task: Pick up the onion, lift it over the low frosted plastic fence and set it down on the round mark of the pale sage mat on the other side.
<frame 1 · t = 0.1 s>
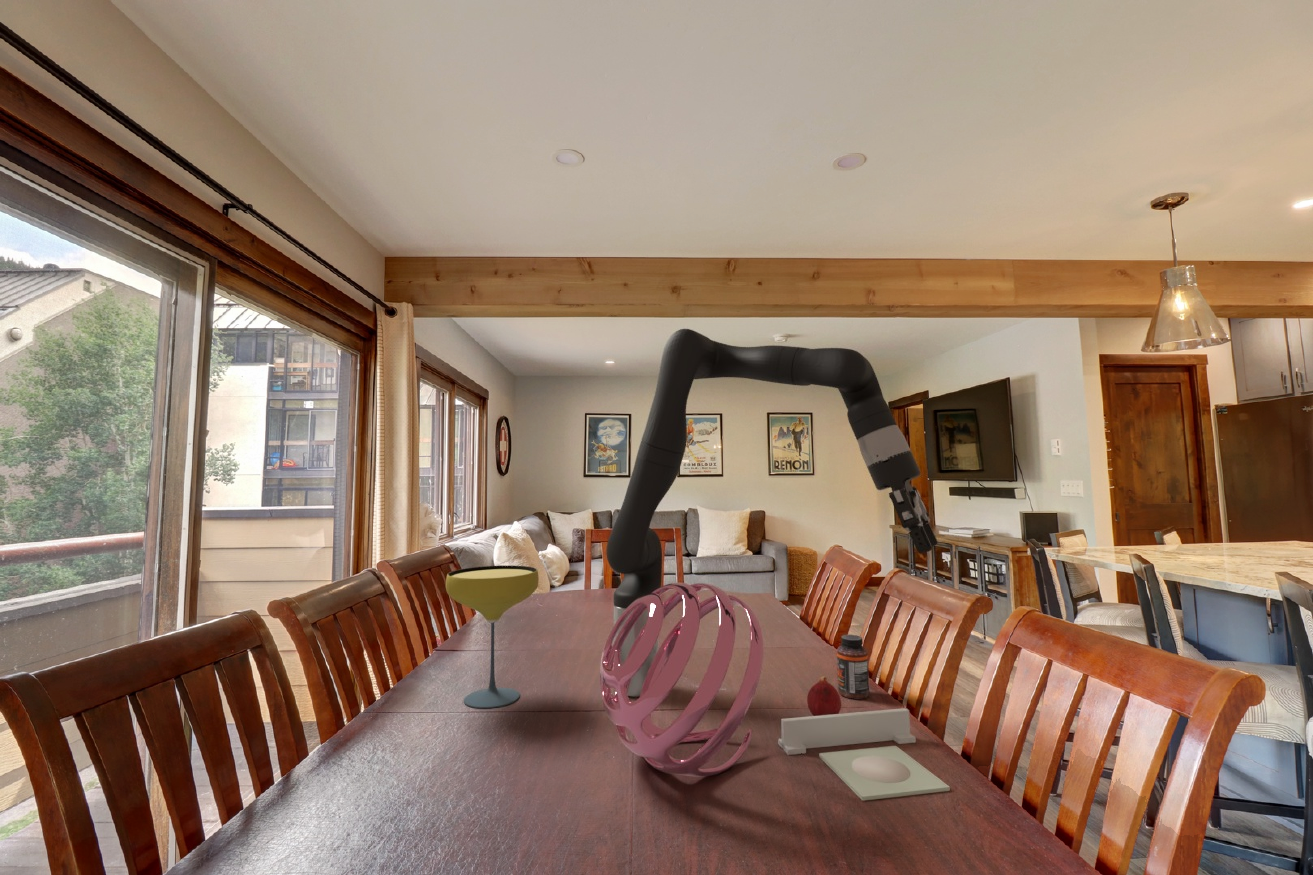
hand: (929, 548, 97), 31 cm above the table, tool tilted 20°, fingers open, 8 cm apart
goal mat: (880, 772, 87), on the table
supplement bottle: (853, 695, 118), on the table
cocktail glass: (492, 699, 119), on the table
spiral basket: (678, 760, 92), on the table
onion: (824, 724, 104), on the table
low fence: (847, 742, 97), on the table
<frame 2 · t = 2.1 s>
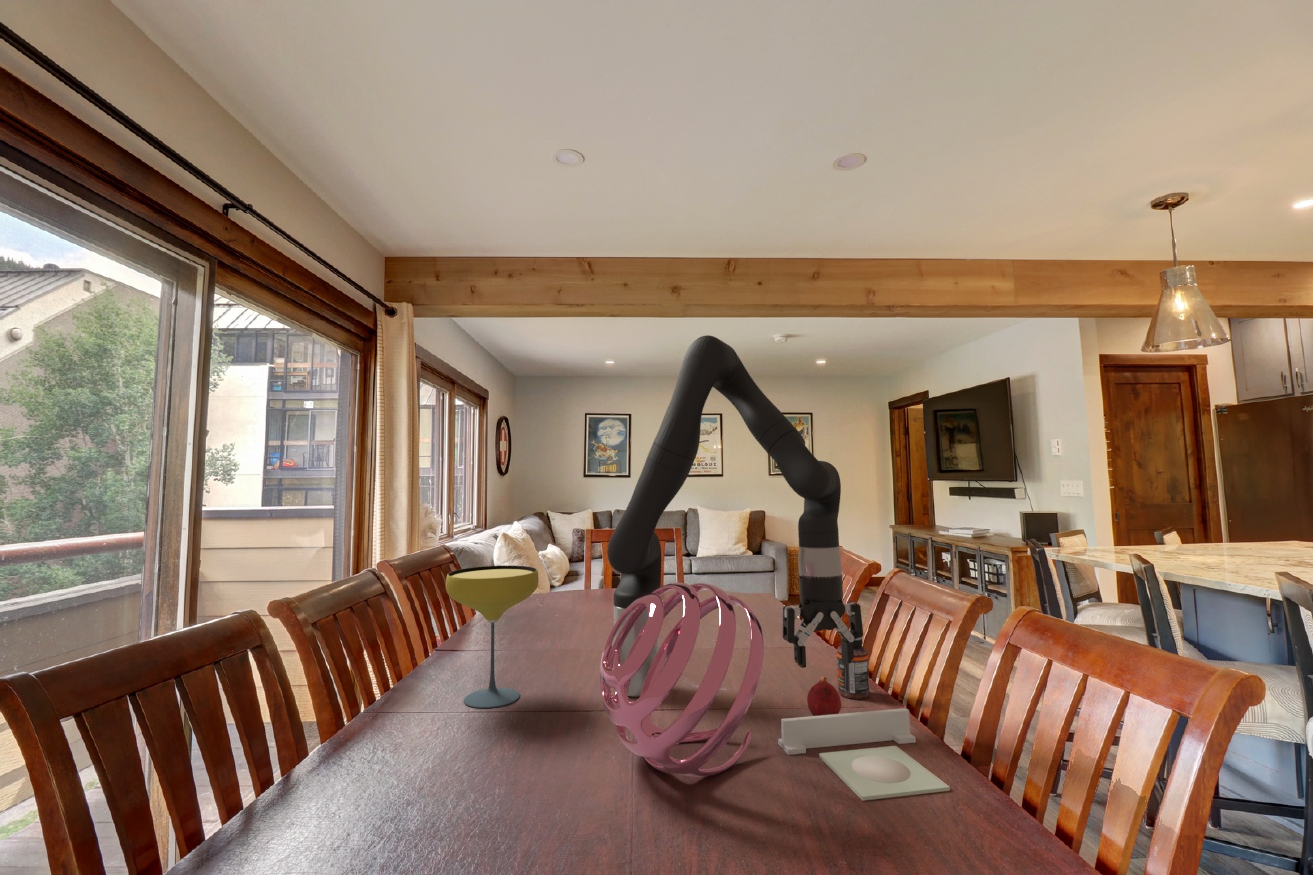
hand: (824, 664, 105), 10 cm above the table, tool pointing down, fingers open, 8 cm apart
nothing on the table moved.
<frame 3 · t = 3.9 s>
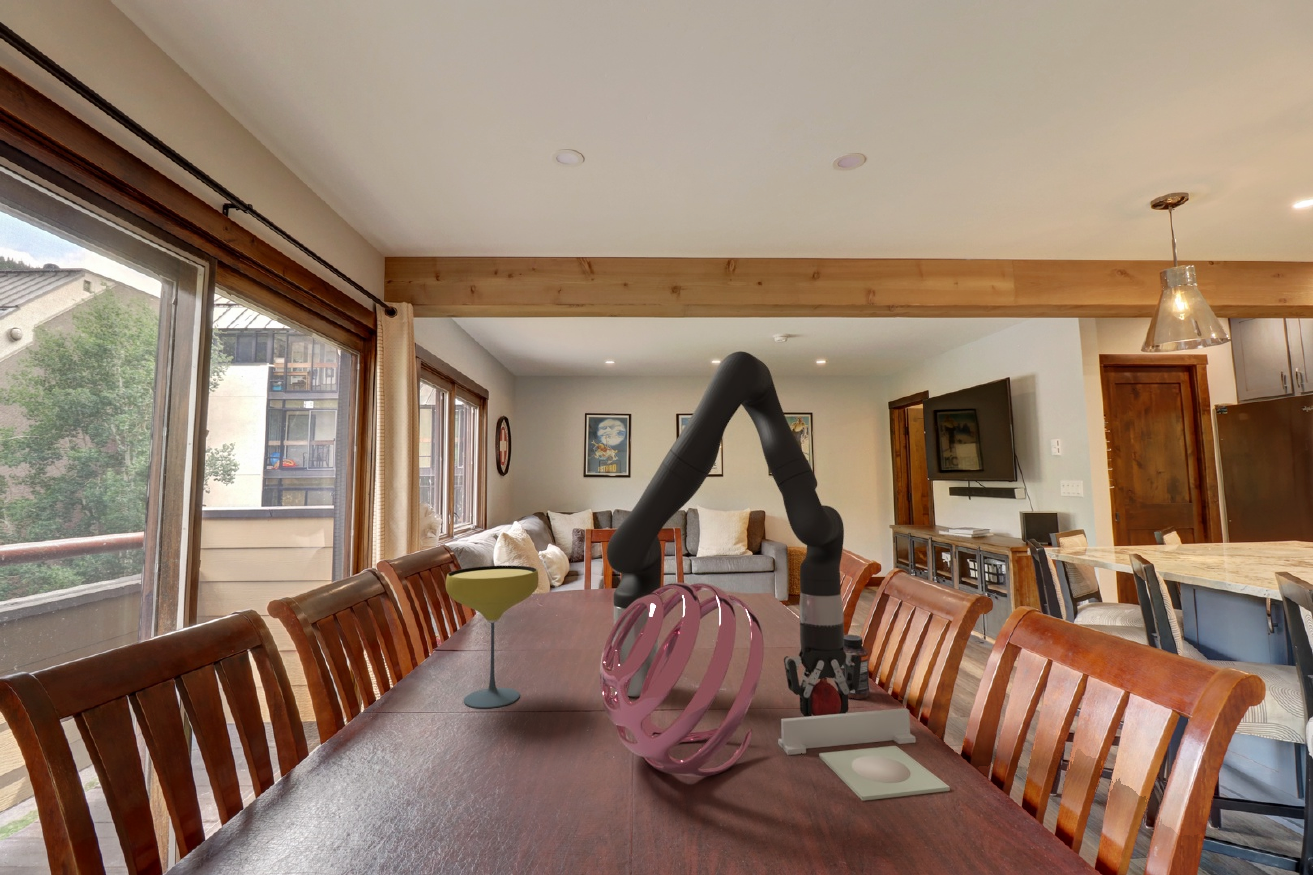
hand: (824, 715, 104), 1 cm above the table, tool pointing down, fingers closed on onion, 5 cm apart
onion: (824, 724, 104), on the table, touching gripper
everything else where it was.
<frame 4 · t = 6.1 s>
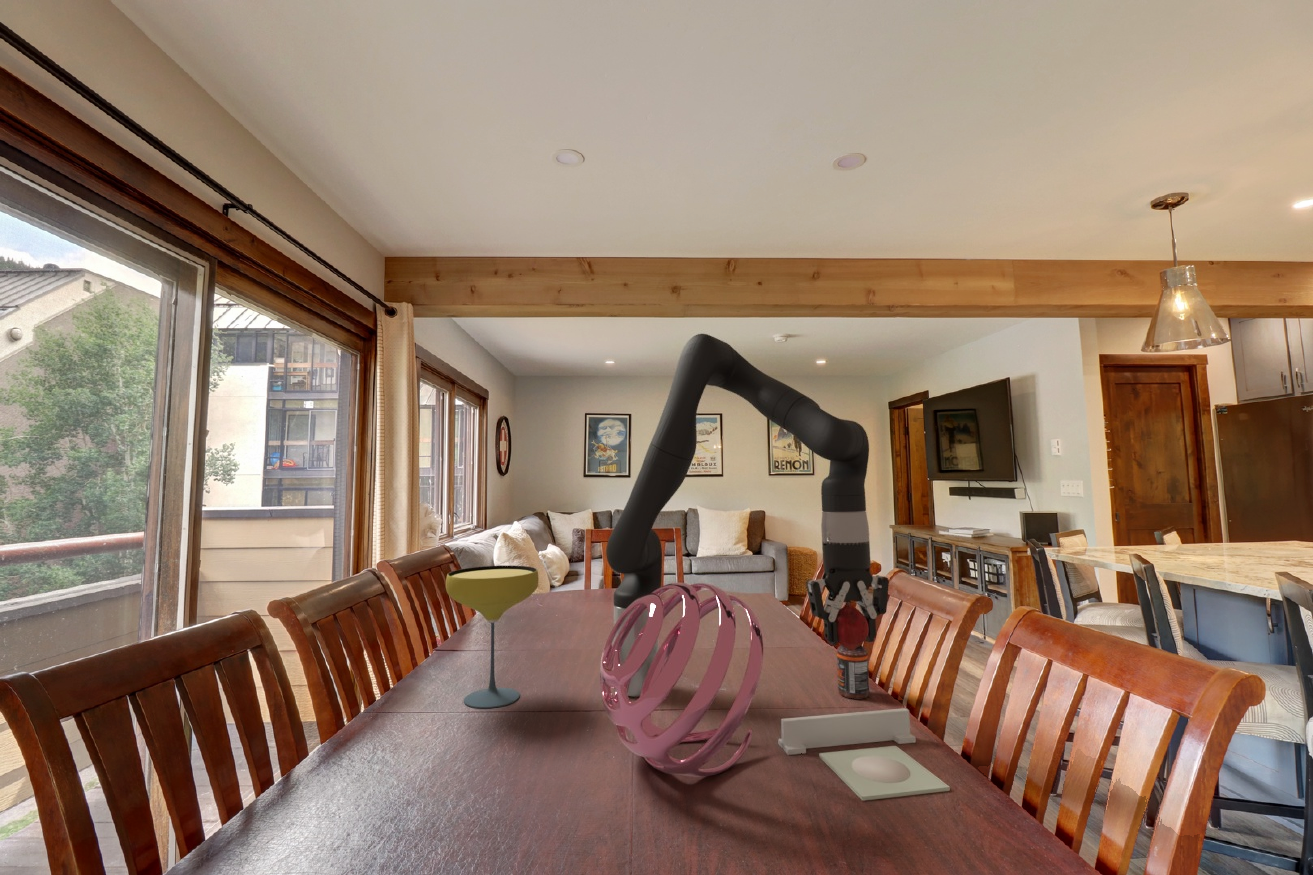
hand: (850, 642, 97), 16 cm above the table, tool pointing down, fingers closed on onion, 5 cm apart
onion: (851, 651, 97), point 15 cm above the table, touching gripper
everything else where it was.
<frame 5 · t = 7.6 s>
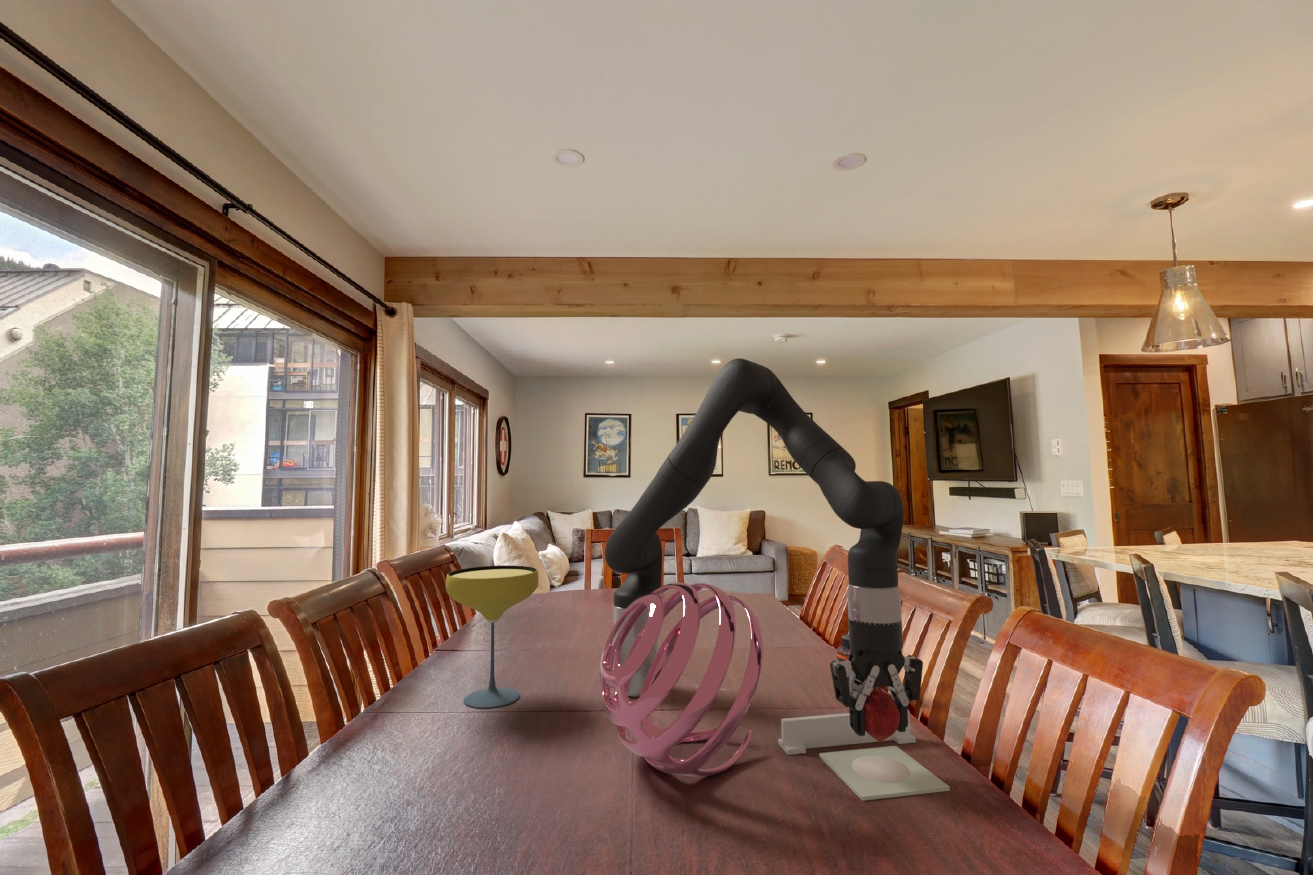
hand: (879, 731, 87), 6 cm above the table, tool pointing down, fingers closed on onion, 5 cm apart
onion: (879, 742, 87), point 4 cm above the table, touching gripper
everything else where it was.
when the fingers open (3 cm above the table, at t = 8.7 s): onion stays where it is, resting on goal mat.
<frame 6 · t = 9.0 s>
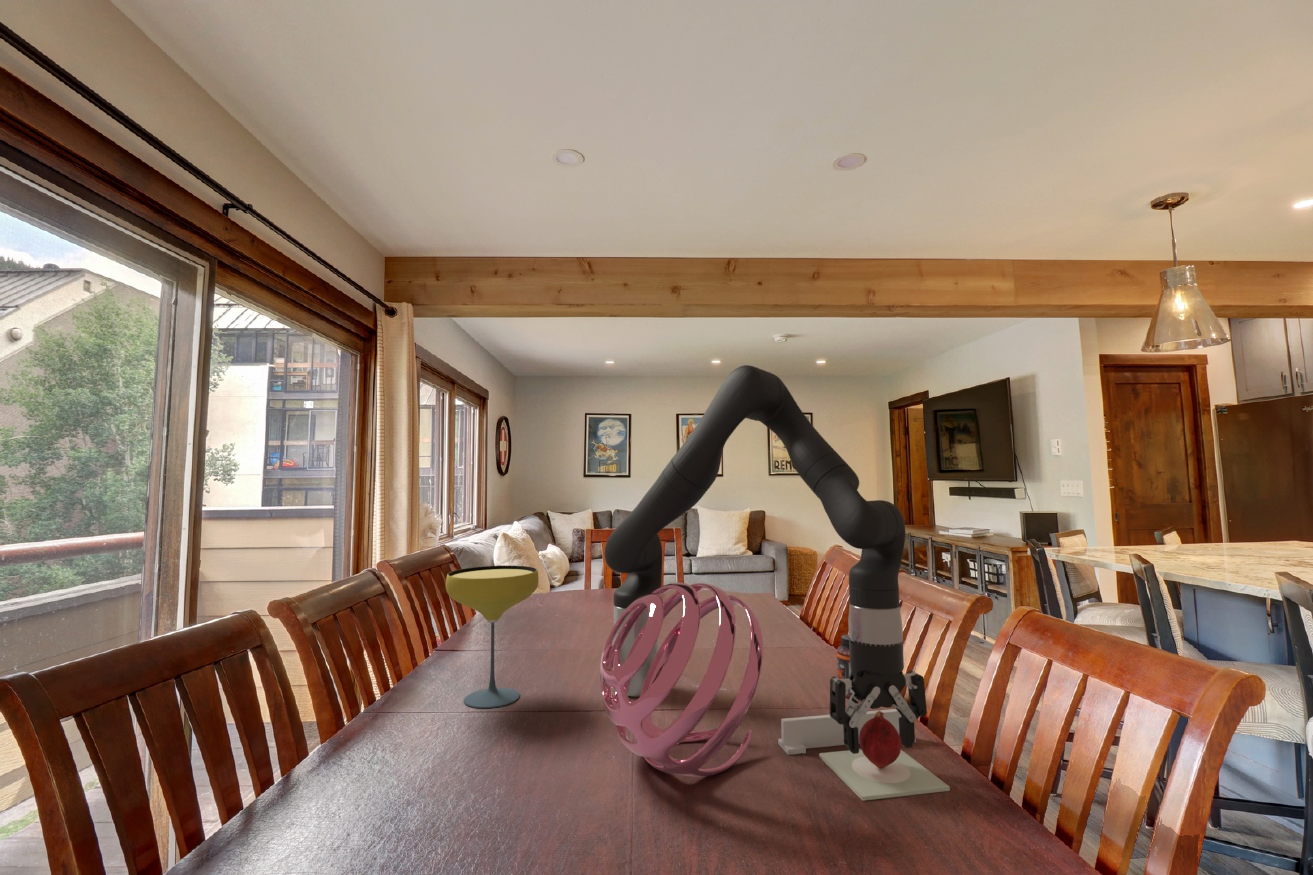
hand: (879, 748, 87), 3 cm above the table, tool pointing down, fingers open, 8 cm apart
onion: (880, 769, 87), resting on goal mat
everything else where it was.
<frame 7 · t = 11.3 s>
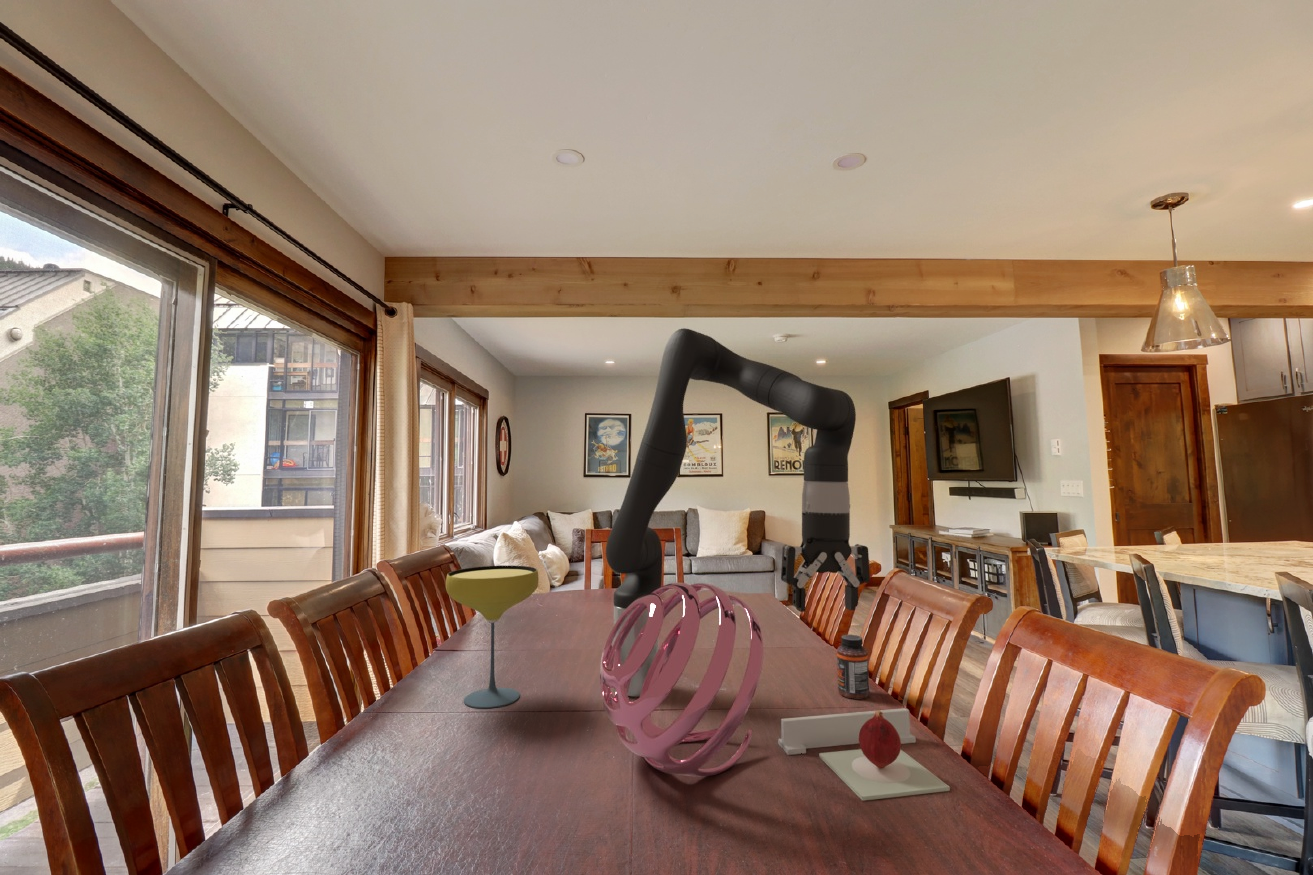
hand: (825, 609, 96), 22 cm above the table, tool pointing down, fingers open, 8 cm apart
nothing on the table moved.
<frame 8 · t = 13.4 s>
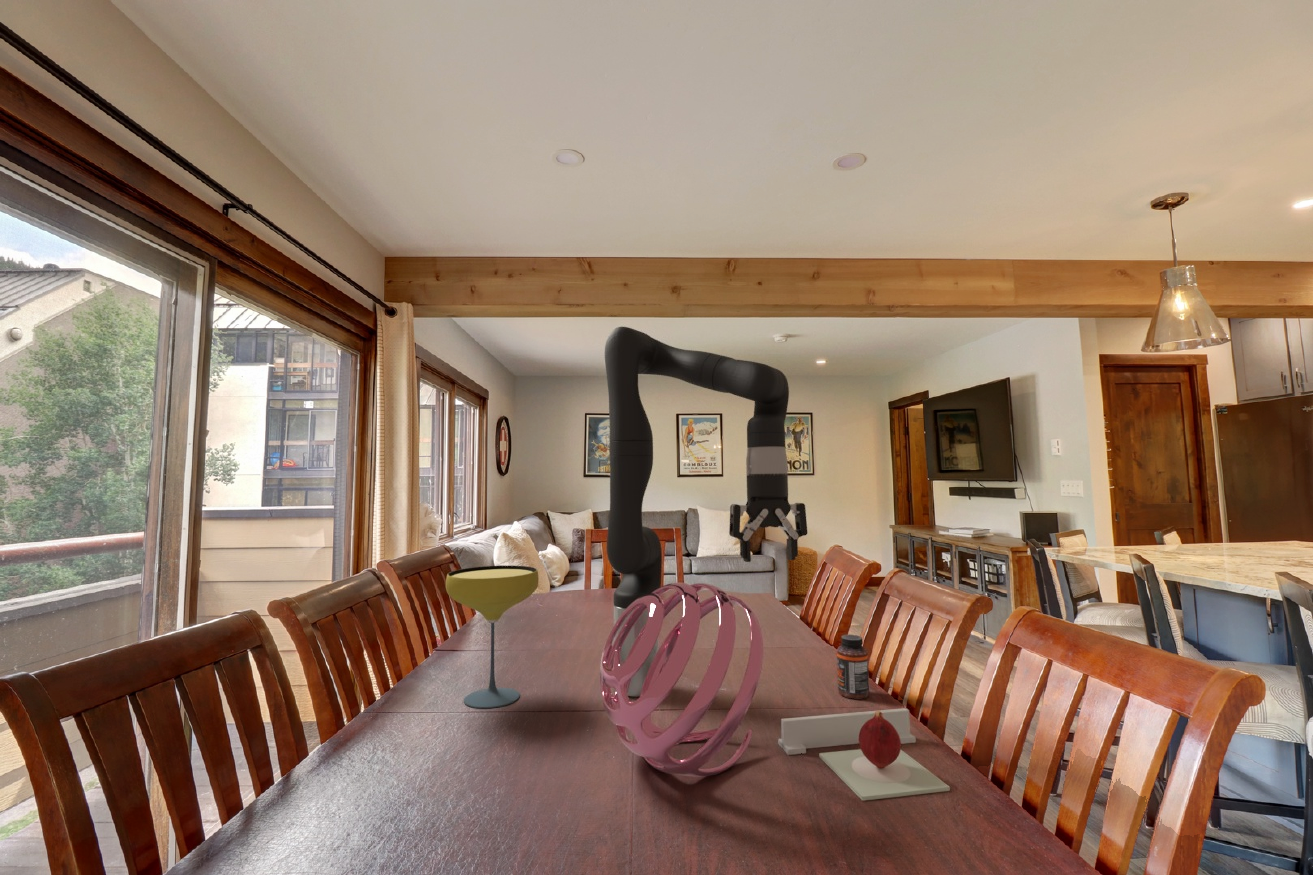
hand: (769, 560, 109), 28 cm above the table, tool pointing down, fingers open, 8 cm apart
nothing on the table moved.
at the end: onion inside the target area on the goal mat (0.1 cm from its centre), point 0.4 cm above the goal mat's base; the gripper is holding nothing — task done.
